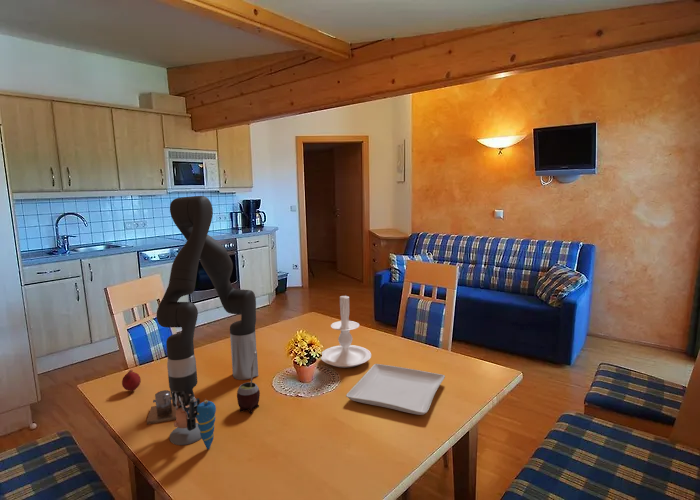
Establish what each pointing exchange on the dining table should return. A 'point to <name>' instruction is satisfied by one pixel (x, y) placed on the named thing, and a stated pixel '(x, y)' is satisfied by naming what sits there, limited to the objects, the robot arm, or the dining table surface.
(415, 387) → the square plate
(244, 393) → the mate gourd
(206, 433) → the ornament
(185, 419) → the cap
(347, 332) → the candlestick
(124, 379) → the onion
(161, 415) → the cylinder on square base
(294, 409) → the dining table surface
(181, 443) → the coaster
